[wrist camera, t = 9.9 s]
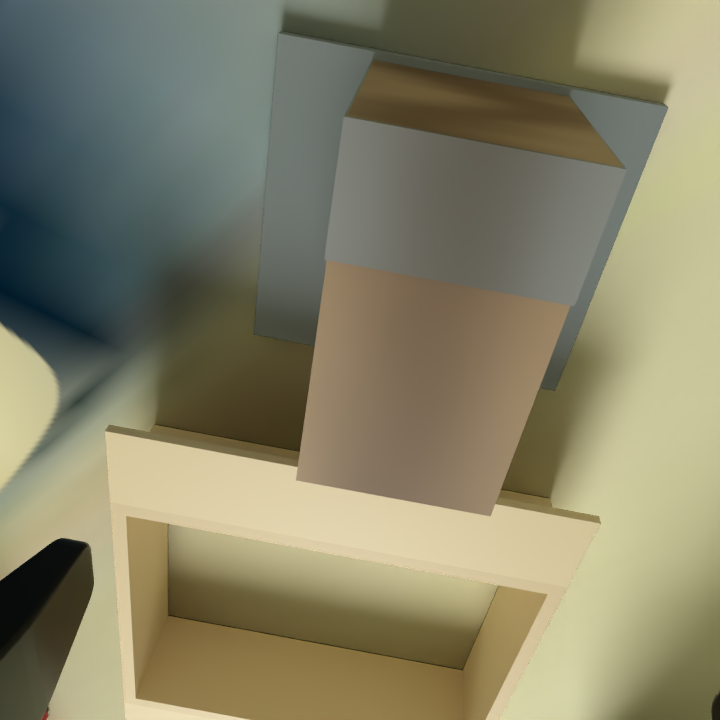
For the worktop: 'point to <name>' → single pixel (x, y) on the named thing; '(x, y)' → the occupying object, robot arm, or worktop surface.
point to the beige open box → (328, 535)
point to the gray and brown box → (447, 280)
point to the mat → (319, 163)
